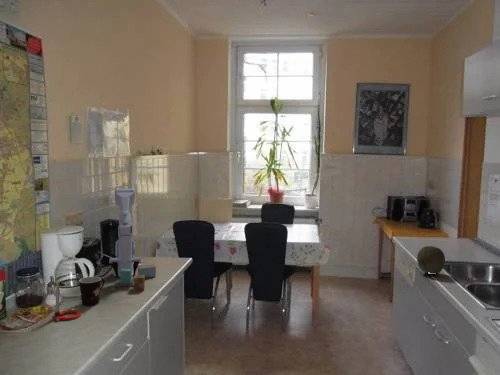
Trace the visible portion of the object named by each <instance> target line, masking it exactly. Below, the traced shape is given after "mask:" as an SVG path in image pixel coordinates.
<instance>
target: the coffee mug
mask: <svg viewBox="0 0 500 375" xmlns="http://www.w3.org/2000/svg"><path fill="white" fill-rule="evenodd" d="M78 285H79V290H80V297H81V298H80V299H81V304H82V306H84V307H92V306H96V305H99V303H100V296H101V295H100V294H101V290H102V289H103V287H104V286H105V279H104V278H101V277H100V276H86V277H82V278H80V279H79V280H78Z"/></svg>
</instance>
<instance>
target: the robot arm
mask: <svg viewBox="0 0 500 375" xmlns="http://www.w3.org/2000/svg"><path fill="white" fill-rule="evenodd" d="M114 202H115V206H117V207H119V210H120V213H119V215H118V227H117V235H118V239H117V240H116V241H115V246H114V250H115V254H114V256H115V257H113V258H109V264H111V268H112V270H113V272H112V273H113V275H112V276H113V277H115V279H119V277H120V271H121V269H131V277H132V279H134V276H135V275H136V274H137V273H136V272H137V270H138V266H140V265H139V264H140V263H142V257H134V256H135V255H136V242H135V240H134V239H133V237H132V236H133V234H134V233H133V232H134V230H133V228H134V227H133V222H132V214H131V213H130V209H131V207H132V206H134V204H135V188H134V187H132V188H114Z"/></svg>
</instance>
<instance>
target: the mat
mask: <svg viewBox="0 0 500 375" xmlns="http://www.w3.org/2000/svg"><path fill="white" fill-rule="evenodd" d="M131 287H133V288H134V278H131V283H130V284H120V279H116V280H115V281H114V284H113V287H112V288H131Z"/></svg>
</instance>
